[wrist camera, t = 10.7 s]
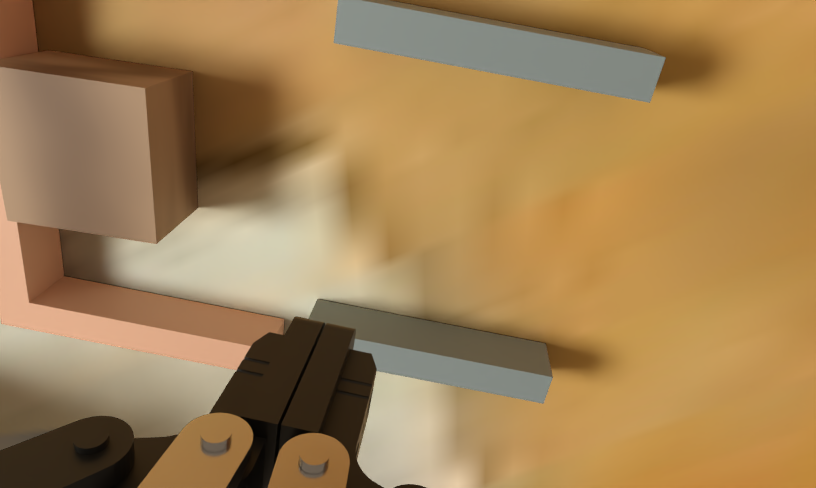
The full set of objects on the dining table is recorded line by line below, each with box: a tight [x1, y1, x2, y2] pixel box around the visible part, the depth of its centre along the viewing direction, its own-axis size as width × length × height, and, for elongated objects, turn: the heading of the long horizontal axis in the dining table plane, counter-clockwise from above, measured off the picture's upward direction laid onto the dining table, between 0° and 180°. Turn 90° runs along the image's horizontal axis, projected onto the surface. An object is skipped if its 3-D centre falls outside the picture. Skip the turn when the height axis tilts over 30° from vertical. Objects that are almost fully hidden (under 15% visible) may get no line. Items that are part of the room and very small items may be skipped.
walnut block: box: [0, 50, 198, 244], centre depth 23 cm, size 6×6×4 cm
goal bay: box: [0, 0, 284, 370], centre depth 23 cm, size 12×18×2 cm
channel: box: [309, 0, 666, 403], centre depth 23 cm, size 11×15×2 cm
